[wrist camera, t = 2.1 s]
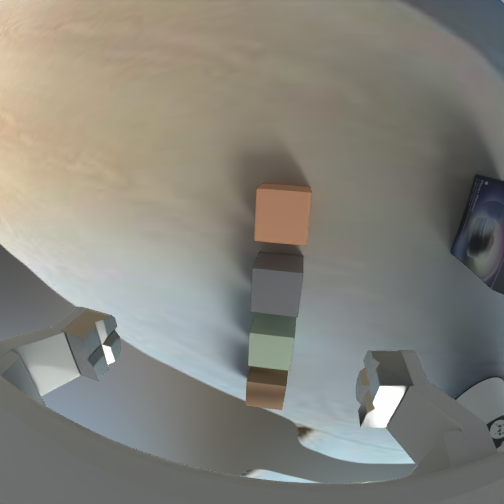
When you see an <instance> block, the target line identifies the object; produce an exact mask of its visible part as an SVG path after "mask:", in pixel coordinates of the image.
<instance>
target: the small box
mask: <svg viewBox="0 0 504 504" xmlns="http://www.w3.org/2000/svg"><path fill="white" fill-rule="evenodd" d="M450 253H451V254H452V255H454V256H455V257H456V258H457V259H459V260H460V261H461V262H462V263H463V264H464V265H466V266H467V267H468V268H469V269H470V270H471V271H472V272H474V273H475V274H476V275H477V276H478V277H479V278H480V279H481V280H482V281H483V282H484V283H485V284H487V286H488V287H490V289H492V290H494V291H496V292H499V293H501V294H504V181H501V180H497V179H493V178H489V177H485V176H480V175H476V176H475V179H474V183H473V187H472V190H471V194H470V197H469V201H468V204H467V207H466V210H465V213H464V216H463V219H462V222H461V225H460V228H459V231H458V233H457V236H456V239H455V241H454V244H453V246H452V249H451V251H450Z"/></svg>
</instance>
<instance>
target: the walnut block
mask: <svg viewBox="0 0 504 504" xmlns="http://www.w3.org/2000/svg"><path fill="white" fill-rule="evenodd" d="M287 375H288V370H279V369H270V368H262V367H255V366H251V368H250V371H249V375H248V379H247V387H246V405H248V406H255V407H262V408H269V409H278V410H282V407H283V402H284V396H285V390H286V384H287Z"/></svg>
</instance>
